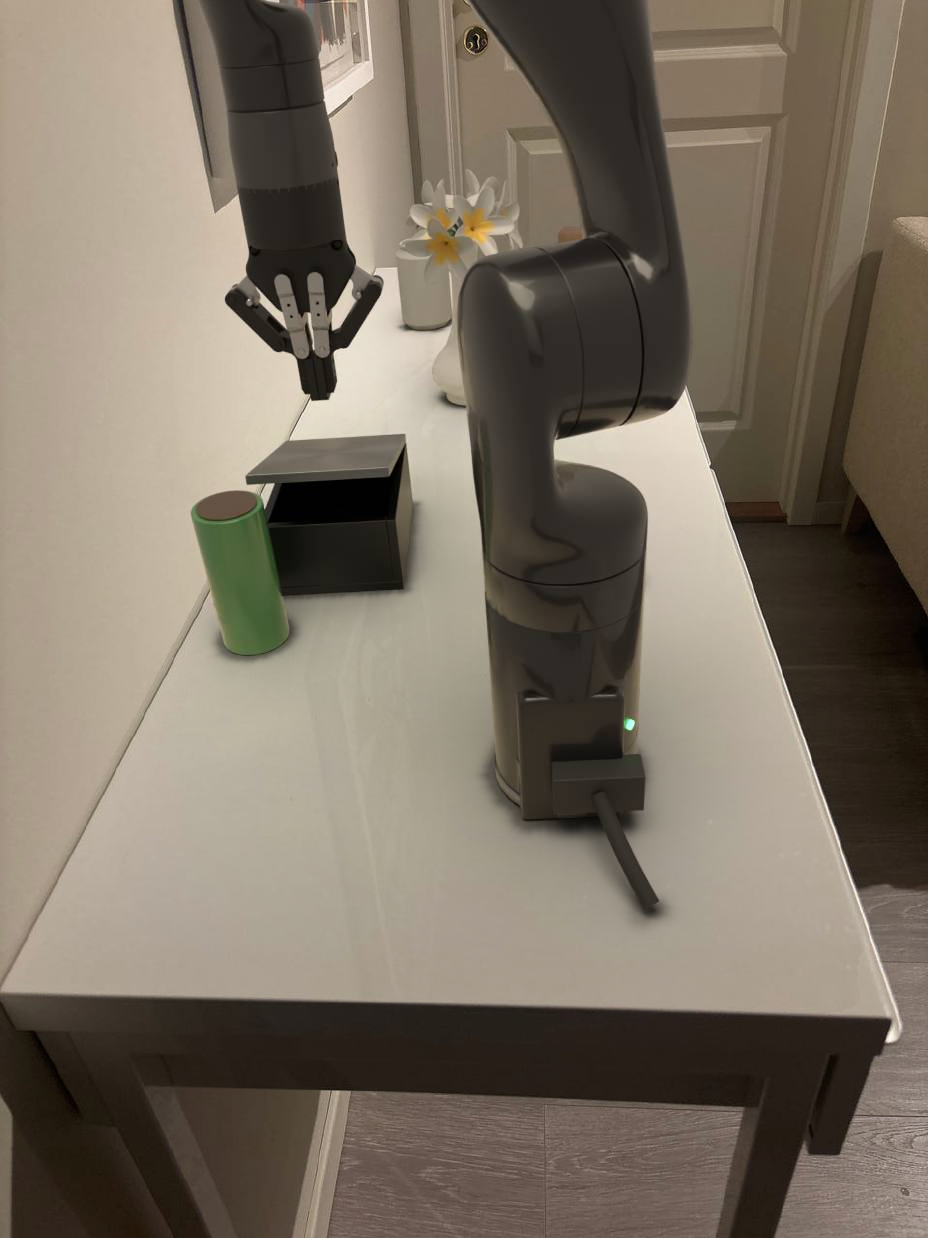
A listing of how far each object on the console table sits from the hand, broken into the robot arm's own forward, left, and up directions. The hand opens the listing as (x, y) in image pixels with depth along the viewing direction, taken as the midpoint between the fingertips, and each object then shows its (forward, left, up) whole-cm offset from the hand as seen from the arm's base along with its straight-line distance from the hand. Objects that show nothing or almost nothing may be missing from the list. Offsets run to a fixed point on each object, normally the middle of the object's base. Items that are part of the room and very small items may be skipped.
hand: (321, 396), depth 81 cm
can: (+67, -5, -15) cm, 69 cm away
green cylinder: (-13, +6, -15) cm, 21 cm away
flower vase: (+36, -12, -15) cm, 41 cm away
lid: (+1, 0, -6) cm, 6 cm away
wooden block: (+84, -28, -11) cm, 90 cm away
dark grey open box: (+1, 0, -15) cm, 15 cm away
